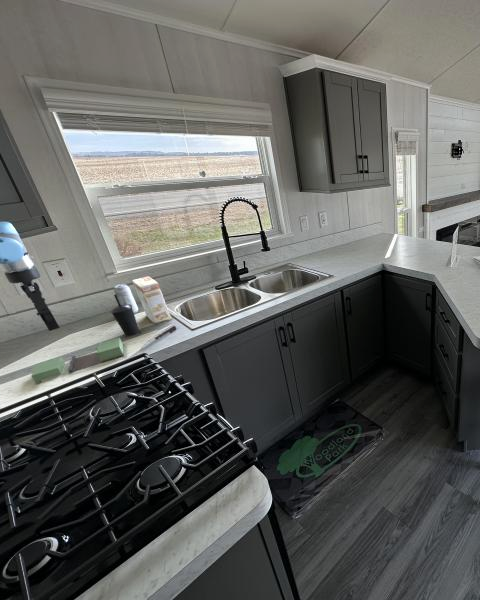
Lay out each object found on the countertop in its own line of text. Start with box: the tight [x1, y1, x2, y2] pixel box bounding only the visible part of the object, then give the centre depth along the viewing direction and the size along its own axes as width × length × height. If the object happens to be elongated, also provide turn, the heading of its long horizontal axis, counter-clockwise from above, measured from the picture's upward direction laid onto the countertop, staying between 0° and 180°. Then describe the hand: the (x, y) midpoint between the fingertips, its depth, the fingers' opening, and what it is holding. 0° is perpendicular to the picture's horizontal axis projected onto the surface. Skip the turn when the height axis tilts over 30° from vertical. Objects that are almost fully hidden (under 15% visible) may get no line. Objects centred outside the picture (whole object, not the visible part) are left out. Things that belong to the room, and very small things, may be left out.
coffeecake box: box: [131, 275, 172, 324], centre depth 157 cm, size 15×7×20 cm, turn 49°
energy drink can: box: [113, 283, 139, 314], centre depth 164 cm, size 6×6×15 cm
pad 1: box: [30, 356, 65, 385], centre depth 121 cm, size 7×9×4 cm
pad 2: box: [96, 337, 124, 362], centre depth 131 cm, size 7×9×4 cm
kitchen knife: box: [141, 325, 177, 349], centre depth 142 cm, size 18×1×2 cm, turn 169°
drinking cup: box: [109, 294, 140, 337], centre depth 142 cm, size 8×8×20 cm
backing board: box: [68, 343, 125, 374], centre depth 129 cm, size 16×12×2 cm
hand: (51, 323), depth 119 cm, fingers open, 13 cm apart
